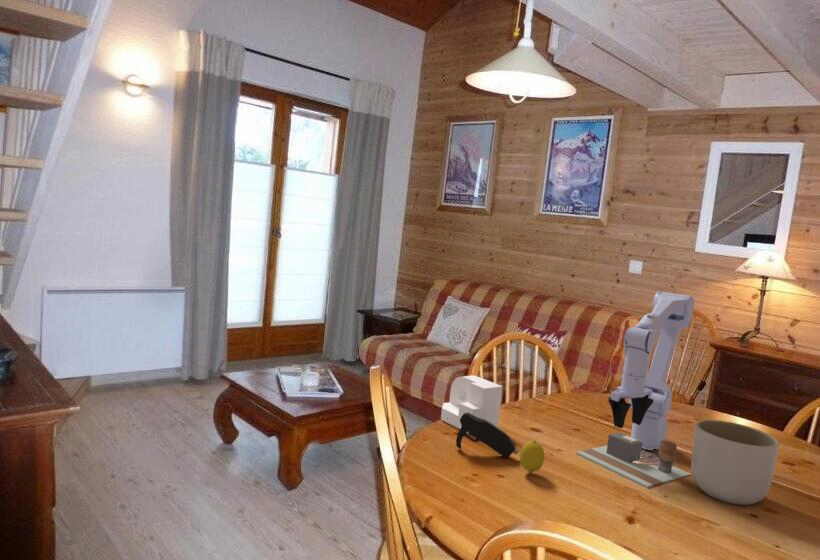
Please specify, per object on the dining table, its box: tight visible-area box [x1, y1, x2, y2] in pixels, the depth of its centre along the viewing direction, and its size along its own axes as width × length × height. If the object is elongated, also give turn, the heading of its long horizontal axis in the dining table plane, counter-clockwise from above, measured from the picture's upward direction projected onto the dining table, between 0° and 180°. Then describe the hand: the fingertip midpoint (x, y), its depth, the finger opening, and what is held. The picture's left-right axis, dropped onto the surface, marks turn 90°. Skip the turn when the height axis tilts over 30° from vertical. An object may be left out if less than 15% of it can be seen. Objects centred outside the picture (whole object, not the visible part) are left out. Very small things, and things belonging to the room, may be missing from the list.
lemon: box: [519, 439, 545, 474], centre depth 138 cm, size 6×6×8 cm
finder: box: [606, 432, 643, 463], centre depth 153 cm, size 4×7×5 cm, turn 34°
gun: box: [455, 413, 519, 458], centre depth 148 cm, size 3×16×10 cm, turn 78°
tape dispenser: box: [440, 374, 503, 435], centre depth 169 cm, size 16×10×13 cm, turn 37°
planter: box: [690, 419, 780, 506], centre depth 136 cm, size 17×17×15 cm
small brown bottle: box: [657, 440, 678, 473], centre depth 146 cm, size 4×4×7 cm
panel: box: [575, 445, 692, 489], centre depth 150 cm, size 18×21×1 cm
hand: (627, 425), depth 152 cm, fingers open, 7 cm apart
